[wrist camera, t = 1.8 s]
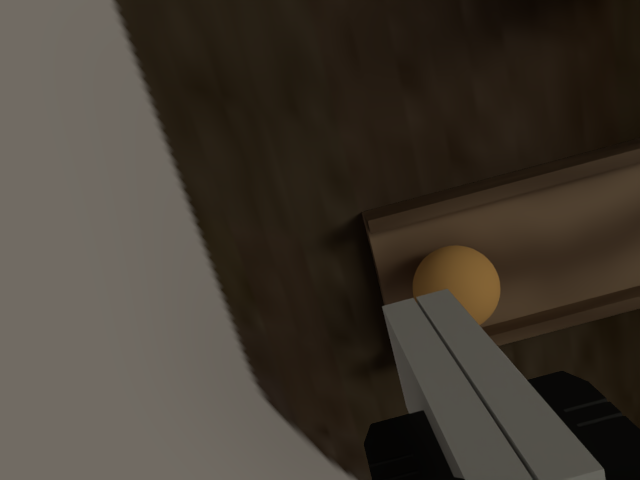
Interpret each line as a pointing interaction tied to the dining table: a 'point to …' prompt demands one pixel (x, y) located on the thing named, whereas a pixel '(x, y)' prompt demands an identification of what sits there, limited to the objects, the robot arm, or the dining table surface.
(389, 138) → the dining table surface
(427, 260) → the ball
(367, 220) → the lane
